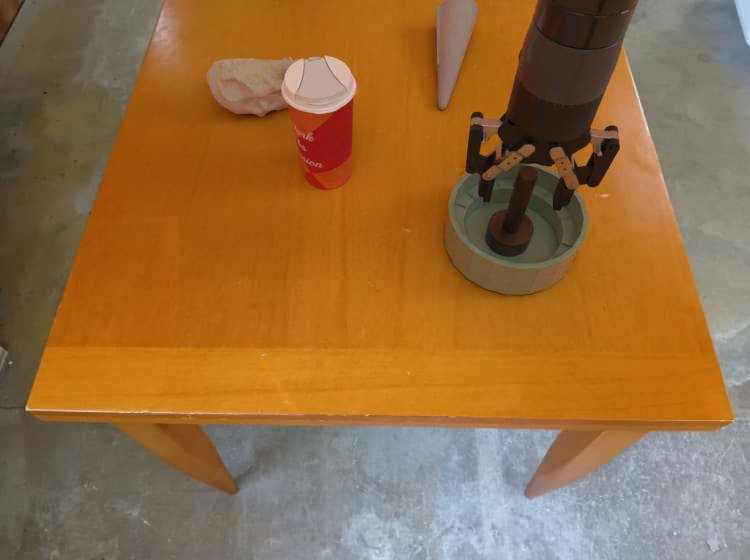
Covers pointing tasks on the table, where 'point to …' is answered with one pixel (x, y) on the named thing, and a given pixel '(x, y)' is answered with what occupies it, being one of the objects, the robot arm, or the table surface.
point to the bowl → (547, 246)
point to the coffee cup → (322, 118)
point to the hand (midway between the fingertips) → (521, 200)
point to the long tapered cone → (452, 43)
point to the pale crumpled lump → (249, 84)
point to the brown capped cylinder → (513, 218)
